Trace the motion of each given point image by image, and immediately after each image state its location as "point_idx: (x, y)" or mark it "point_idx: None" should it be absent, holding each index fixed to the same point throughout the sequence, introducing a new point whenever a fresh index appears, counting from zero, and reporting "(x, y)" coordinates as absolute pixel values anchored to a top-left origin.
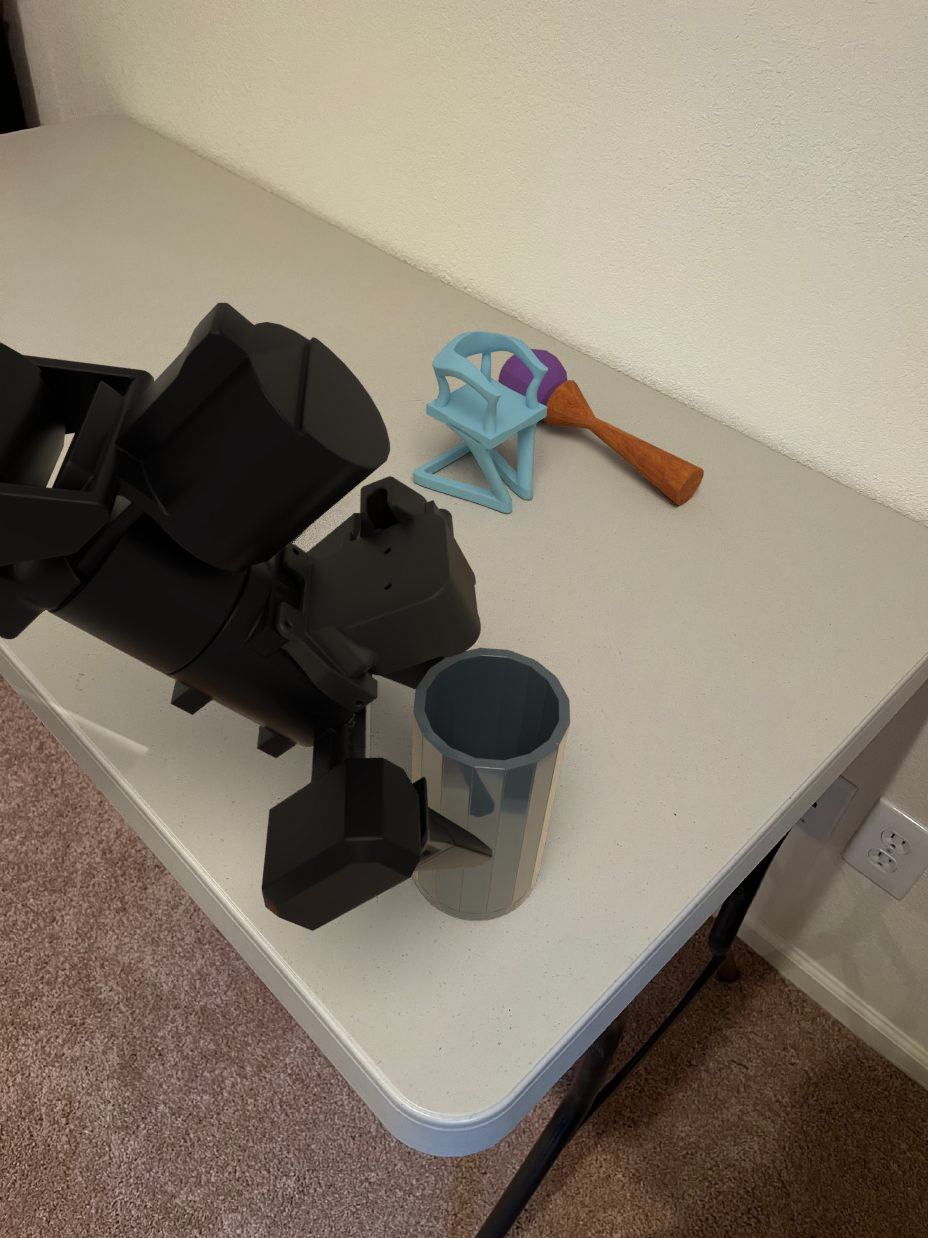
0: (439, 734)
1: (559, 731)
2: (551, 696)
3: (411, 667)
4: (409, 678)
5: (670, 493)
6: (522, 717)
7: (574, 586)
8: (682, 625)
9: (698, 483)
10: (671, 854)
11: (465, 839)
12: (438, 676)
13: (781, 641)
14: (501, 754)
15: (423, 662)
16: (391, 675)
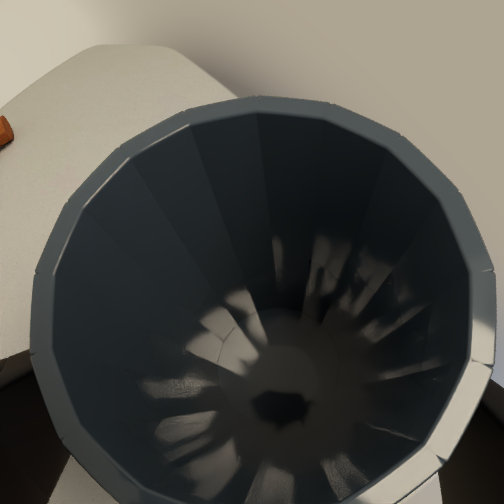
0: (180, 407)
1: (361, 123)
2: (224, 136)
3: (48, 429)
4: None
5: (4, 138)
6: (187, 250)
7: (25, 212)
8: (87, 144)
9: (8, 123)
10: None
11: (490, 390)
12: (90, 424)
13: (127, 94)
14: (201, 310)
15: (41, 407)
16: (59, 461)
